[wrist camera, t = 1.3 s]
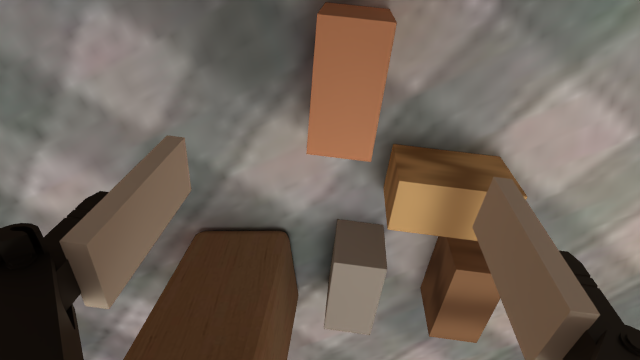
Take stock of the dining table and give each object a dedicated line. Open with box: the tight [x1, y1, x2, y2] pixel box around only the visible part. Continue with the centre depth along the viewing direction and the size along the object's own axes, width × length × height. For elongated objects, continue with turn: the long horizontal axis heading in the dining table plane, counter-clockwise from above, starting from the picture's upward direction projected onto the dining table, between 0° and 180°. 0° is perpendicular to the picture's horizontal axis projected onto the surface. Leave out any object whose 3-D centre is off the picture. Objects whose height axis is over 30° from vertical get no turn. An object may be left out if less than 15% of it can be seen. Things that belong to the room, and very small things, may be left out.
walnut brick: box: [421, 236, 500, 343], centre depth 35 cm, size 9×4×6 cm, turn 175°
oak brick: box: [384, 144, 527, 241], centre depth 29 cm, size 9×4×6 cm, turn 85°
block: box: [123, 231, 298, 360], centre depth 31 cm, size 10×10×20 cm
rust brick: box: [307, 2, 397, 162], centre depth 25 cm, size 9×4×6 cm, turn 175°
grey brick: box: [324, 219, 387, 335], centre depth 35 cm, size 9×4×6 cm, turn 175°
